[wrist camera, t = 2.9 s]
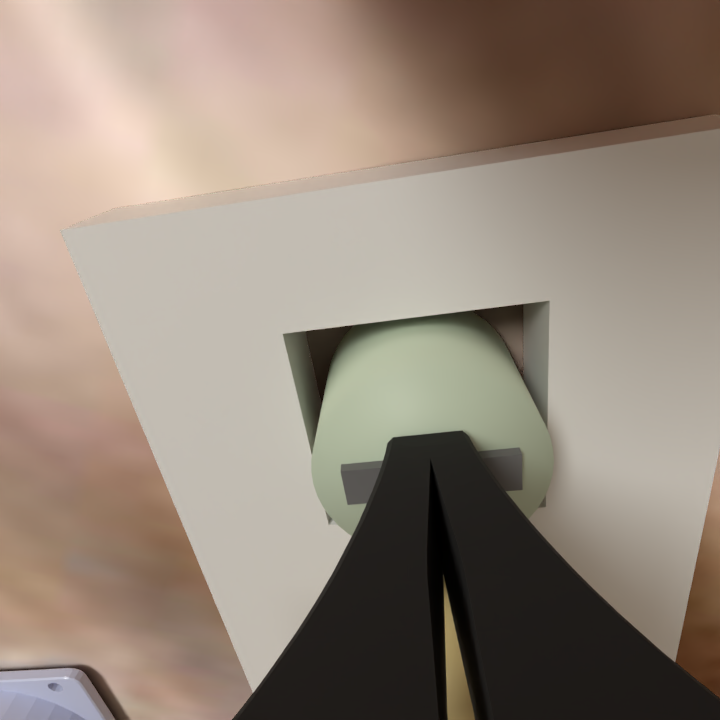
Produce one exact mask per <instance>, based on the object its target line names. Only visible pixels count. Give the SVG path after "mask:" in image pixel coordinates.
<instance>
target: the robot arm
mask: <svg viewBox="0 0 720 720" xmlns="http://www.w3.org/2000/svg"><path fill="white" fill-rule="evenodd" d="M443 575H444V579H443ZM444 580H445V584H446V589H447V594H448V598H449V603H450V607H451V612H452V616H453V621H454V625H455V630H456V635H457V639H458V644H459V648H460V653H461V657H462V662H463V666H464V671H465V675H466V680H467V684H468V689H469V693H470V698H471V702H472V707H473V712H474V717H475V720H720V698H719V697H717V696H716V695H715V694H714V693H712V692H711V691H710V690H709V689H707V688H706V687H705V686H704V685H703V684H701V683H700V682H699V681H698V680H696V679H695V678H694V677H693V676H691V675H690V674H689V673H688V672H687V671H685V670H684V669H683V668H682V667H680V666H679V665H678V664H677V663H675V662H674V661H673V660H672V659H671V658H669V657H668V656H667V655H666V654H664V653H663V652H662V651H661V650H660V649H659V648H658V647H656V646H655V645H654V644H653V643H652V642H651V641H650V640H649V639H647V638H646V637H645V636H644V635H643V634H642V633H641V632H640V631H638V630H637V629H636V628H635V627H634V626H633V625H632V624H631V623H630V622H628V621H627V620H626V619H625V618H624V617H623V616H622V615H621V614H619V613H618V612H617V611H616V610H615V609H614V608H613V607H612V606H611V605H610V604H609V603H608V602H607V601H606V600H605V599H604V598H603V597H602V596H601V595H599V594H598V593H597V592H596V591H595V590H594V589H593V588H592V587H591V586H590V585H589V584H588V583H587V582H586V581H585V580H584V579H583V578H582V577H581V576H580V575H579V574H578V573H577V572H576V571H575V570H574V569H573V568H572V567H571V566H570V565H569V564H568V563H567V562H566V561H565V559H564V558H563V557H562V556H561V555H560V554H559V553H558V552H557V551H556V550H555V549H554V548H553V546H552V545H551V544H550V543H549V542H548V541H547V540H546V539H545V538H544V537H543V536H542V534H541V533H540V532H539V531H538V530H537V529H536V528H535V526H534V525H533V524H532V523H531V522H530V521H529V519H528V518H527V517H526V516H525V515H524V513H523V512H522V511H521V510H520V508H519V507H518V506H517V505H516V503H515V502H514V501H513V500H512V499H511V497H510V496H509V495H508V494H507V492H506V491H505V490H504V488H503V487H502V486H501V485H500V483H499V482H498V481H497V479H496V478H495V476H494V475H493V474H492V472H491V471H490V469H489V468H488V467H487V465H486V464H485V462H484V461H483V459H482V458H481V456H480V455H479V453H478V451H477V450H476V448H475V446H474V445H473V443H472V441H471V439H470V437H469V435H467V434H466V433H465V432H463V431H462V430H461V431H451V432H441V433H431V434H421V435H411V436H401V437H393V438H392V439H391V440H390V441H389V442H388V443H387V447H386V452H385V456H384V459H383V463H382V466H381V469H380V472H379V475H378V477H377V480H376V483H375V485H374V488H373V490H372V493H371V495H370V497H369V500H368V502H367V504H366V507H365V509H364V511H363V513H362V516H361V518H360V520H359V523H358V525H357V527H356V529H355V531H354V533H353V535H352V537H351V539H350V541H349V543H348V545H347V546H346V548H345V550H344V552H343V554H342V556H341V558H340V560H339V562H338V564H337V566H336V568H335V569H334V571H333V573H332V575H331V577H330V578H329V580H328V582H327V584H326V585H325V587H324V589H323V590H322V592H321V594H320V595H319V597H318V599H317V600H316V602H315V604H314V605H313V607H312V608H311V610H310V612H309V613H308V615H307V616H306V618H305V619H304V621H303V623H302V624H301V626H300V627H299V629H298V630H297V632H296V633H295V635H294V636H293V638H292V639H291V640H290V642H289V643H288V645H287V646H286V648H285V649H284V651H283V652H282V653H281V655H280V656H279V658H278V659H277V661H276V662H275V663H274V665H273V666H272V668H271V669H270V671H269V672H268V673H267V675H266V676H265V678H264V679H263V680H262V682H261V683H260V684H259V686H258V687H257V688H256V690H255V691H254V692H253V694H252V695H251V696H250V698H249V699H248V700H247V702H246V703H245V704H244V706H243V707H242V708H241V709H240V711H239V712H238V713H237V714H236V716H235V717H234V718H233V719H232V720H448V715H447V684H446V649H445V613H444ZM0 720H115V718H114V717H113V715H112V714H111V712H110V710H109V709H108V707H107V706H106V704H105V703H104V701H103V700H102V698H101V697H100V695H99V694H98V692H97V690H96V689H95V687H94V686H93V684H92V683H91V681H90V680H89V678H88V677H87V675H86V674H85V673H84V672H83V671H81V670H79V669H76V668H56V669H38V670H20V671H1V672H0Z"/></svg>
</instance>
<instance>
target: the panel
mask: <svg viewBox="0 0 720 720" xmlns="http://www.w3.org/2000/svg"><path fill="white" fill-rule="evenodd" d="M60 231H61V234H62V236H63V239H64V241H65V243H66V246H67V248H68V251H69V253H70V255H71V258H72V260H73V263H74V265H75V267H76V270H77V272H78V275H79V277H80V279H81V282H82V284H83V287H84V289H85V291H86V294H87V296H88V299H89V301H90V303H91V306H92V308H93V311H94V313H95V315H96V318H97V320H98V323H99V325H100V327H101V330H102V332H103V334H104V337H105V339H106V342H107V344H108V346H109V349H110V351H111V354H112V356H113V358H114V361H115V363H116V366H117V368H118V370H119V373H120V375H121V378H122V380H123V382H124V385H125V387H126V390H127V392H128V394H129V397H130V399H131V402H132V404H133V406H134V409H135V411H136V414H137V416H138V418H139V421H140V423H141V426H142V428H143V430H144V433H145V435H146V438H147V440H148V442H149V445H150V447H151V450H152V452H153V454H154V457H155V459H156V461H157V464H158V466H159V469H160V471H161V473H162V476H163V478H164V481H165V483H166V485H167V488H168V490H169V493H170V495H171V497H172V500H173V502H174V505H175V507H176V509H177V512H178V514H179V517H180V519H181V521H182V524H183V526H184V529H185V531H186V533H187V536H188V538H189V541H190V543H191V545H192V548H193V550H194V553H195V555H196V557H197V560H198V562H199V565H200V567H201V569H202V572H203V574H204V576H205V579H206V581H207V584H208V586H209V588H210V591H211V593H212V596H213V598H214V600H215V603H216V605H217V608H218V610H219V612H220V615H221V617H222V620H223V622H224V624H225V627H226V629H227V632H228V634H229V636H230V639H231V641H232V644H233V646H234V648H235V651H236V653H237V656H238V658H239V660H240V663H241V665H242V668H243V670H244V672H245V675H246V677H247V680H248V682H249V684H250V687H251V689H252V691H253V692H254V691H255V690H256V688H257V687H258V686H259V684H260V683H261V682H262V680H263V679H264V678H265V676H266V675H267V673H268V672H269V671H270V669H271V668H272V666H273V665H274V663H275V662H276V661H277V659H278V658H279V656H280V655H281V653H282V652H283V651H284V649H285V648H286V646H287V645H288V643H289V642H290V640H291V639H292V638H293V636H294V635H295V633H296V632H297V630H298V629H299V627H300V626H301V624H302V623H303V621H304V619H305V618H306V616H307V615H308V613H309V612H310V610H311V608H312V607H313V605H314V604H315V602H316V600H317V599H318V597H319V595H320V594H321V592H322V590H323V589H324V587H325V585H326V584H327V582H328V580H329V578H330V577H331V575H332V573H333V571H334V569H335V568H336V566H337V564H338V562H339V560H340V558H341V556H342V554H343V552H344V550H345V548H346V546H347V545H348V543H349V541H350V539H351V537H352V536H351V535H349V534H348V533H347V532H346V531H344V530H343V529H342V528H341V527H339V526H338V525H337V524H336V522H335V521H334V520H333V519H332V518H331V517H330V516H329V515H328V513H327V512H326V510H325V509H324V508H323V506H322V504H321V502H320V500H319V498H318V496H317V493H316V491H315V488H314V485H313V479H312V473H311V459H312V453H313V447H314V442H315V437H316V432H317V427H318V422H319V417H320V413H321V408H322V404H321V400H320V395H319V391H318V386H317V381H316V377H315V372H314V368H313V363H312V359H311V354H310V350H309V345H308V340H307V336H306V331H310V330H318V329H326V328H334V327H342V326H350V325H358V324H366V323H374V322H382V321H390V320H398V319H406V318H414V317H422V316H430V315H438V314H446V313H454V312H462V311H470V310H478V309H486V308H495V307H503V306H511V305H519V304H523V364H524V383H525V385H526V387H527V389H528V391H529V393H530V395H531V397H532V399H533V401H534V403H535V405H536V407H537V409H538V411H539V413H540V415H541V417H542V419H543V421H544V423H545V426H546V428H547V430H548V433H549V435H550V438H551V442H552V446H553V455H554V466H553V475H552V478H551V482H550V486H549V488H548V491H547V493H546V495H545V497H544V499H543V501H542V502H541V504H540V505H539V507H538V508H537V510H536V511H535V512H534V513H533V515H532V516H531V517H530V518H529V521H530V522H531V523H532V524H533V525H534V526H535V528H536V529H537V530H538V531H539V532H540V533H541V534H542V536H543V537H544V538H545V539H546V540H547V541H548V542H549V543H550V544H551V545H552V546H553V548H554V549H555V550H556V551H557V552H558V553H559V554H560V555H561V556H562V557H563V558H564V559H565V561H566V562H567V563H568V564H569V565H570V566H571V567H572V568H573V569H574V570H575V571H576V572H577V573H578V574H579V575H580V576H581V577H582V578H583V579H584V580H585V581H586V582H587V583H588V584H589V585H590V586H591V587H592V588H593V589H594V590H595V591H596V592H597V593H598V594H599V595H601V596H602V597H603V598H604V599H605V600H606V601H607V602H608V603H609V604H610V605H611V606H612V607H613V608H614V609H615V610H616V611H617V612H618V613H619V614H621V615H622V616H623V617H624V618H625V619H626V620H627V621H628V622H630V623H631V624H632V625H633V626H634V627H635V628H636V629H637V630H638V631H640V632H641V633H642V634H643V635H644V636H645V637H646V638H647V639H649V640H650V641H651V642H652V643H653V644H654V645H655V646H656V647H658V648H659V649H660V650H661V651H662V652H663V653H664V654H666V655H667V656H668V657H669V658H671V659H672V660H673V661H674V662H675V661H676V656H677V651H678V646H679V642H680V637H681V632H682V627H683V622H684V618H685V613H686V608H687V603H688V598H689V593H690V589H691V584H692V579H693V574H694V569H695V565H696V560H697V555H698V550H699V545H700V541H701V536H702V531H703V526H704V521H705V517H706V512H707V507H708V502H709V497H710V493H711V488H712V483H713V478H714V473H715V469H716V464H717V459H718V454H719V449H720V115H707V116H700V117H694V118H688V119H681V120H675V121H669V122H662V123H656V124H649V125H643V126H637V127H630V128H624V129H618V130H611V131H605V132H598V133H592V134H586V135H579V136H573V137H567V138H560V139H554V140H547V141H541V142H535V143H528V144H522V145H516V146H509V147H503V148H496V149H490V150H484V151H477V152H471V153H465V154H458V155H452V156H445V157H439V158H433V159H426V160H420V161H414V162H407V163H401V164H394V165H388V166H382V167H375V168H369V169H363V170H356V171H350V172H344V173H337V174H331V175H324V176H318V177H312V178H305V179H299V180H293V181H286V182H280V183H273V184H267V185H261V186H254V187H248V188H242V189H235V190H229V191H222V192H216V193H210V194H203V195H197V196H191V197H184V198H178V199H171V200H165V201H159V202H152V203H146V204H140V205H133V206H127V207H120V208H114V209H111V210H109V211H106V212H104V213H101V214H99V215H96V216H94V217H91V218H89V219H86V220H84V221H81V222H79V223H76V224H74V225H72V226H69V227H67V228H64V229H62V230H60ZM443 576H444V575H443Z"/></svg>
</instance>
